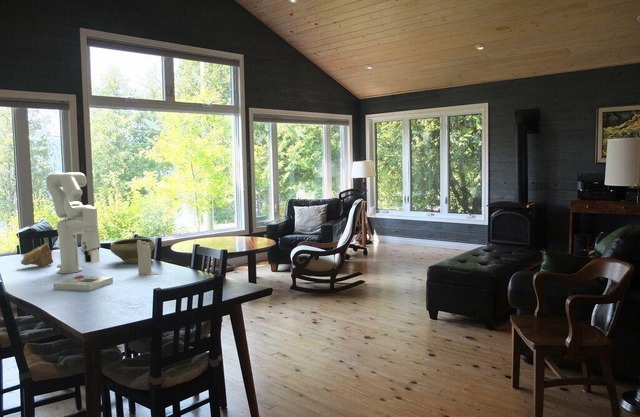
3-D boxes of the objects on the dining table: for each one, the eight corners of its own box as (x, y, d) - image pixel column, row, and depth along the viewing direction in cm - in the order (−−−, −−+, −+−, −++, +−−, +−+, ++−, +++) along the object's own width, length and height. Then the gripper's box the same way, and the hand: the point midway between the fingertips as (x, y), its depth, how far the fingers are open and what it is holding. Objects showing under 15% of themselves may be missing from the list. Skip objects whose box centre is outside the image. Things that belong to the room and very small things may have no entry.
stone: (53, 263, 329) (51, 241, 328) (54, 266, 321) (52, 243, 319) (21, 267, 320) (19, 243, 318) (21, 269, 311) (19, 245, 310)
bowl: (141, 256, 350) (140, 236, 349) (164, 261, 332) (163, 239, 331) (102, 262, 328) (101, 241, 327) (124, 267, 311) (123, 244, 310)
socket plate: (53, 289, 259) (53, 281, 259) (78, 281, 277) (78, 274, 276) (89, 291, 254) (89, 283, 253) (112, 282, 271) (112, 275, 270)
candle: (158, 275, 287) (156, 240, 285) (136, 274, 290) (134, 240, 288) (164, 272, 294) (162, 238, 292) (142, 271, 297) (141, 238, 295)
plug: (84, 262, 281) (83, 250, 280) (90, 260, 285) (89, 248, 284) (93, 263, 279) (92, 251, 278) (99, 261, 284) (98, 249, 283)
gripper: (95, 226, 289) (96, 257, 291) (73, 230, 273) (75, 263, 275) (106, 227, 287) (107, 258, 289) (85, 231, 271) (86, 264, 273)
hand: (91, 260), depth 282 cm, fingers closed on plug, 5 cm apart
